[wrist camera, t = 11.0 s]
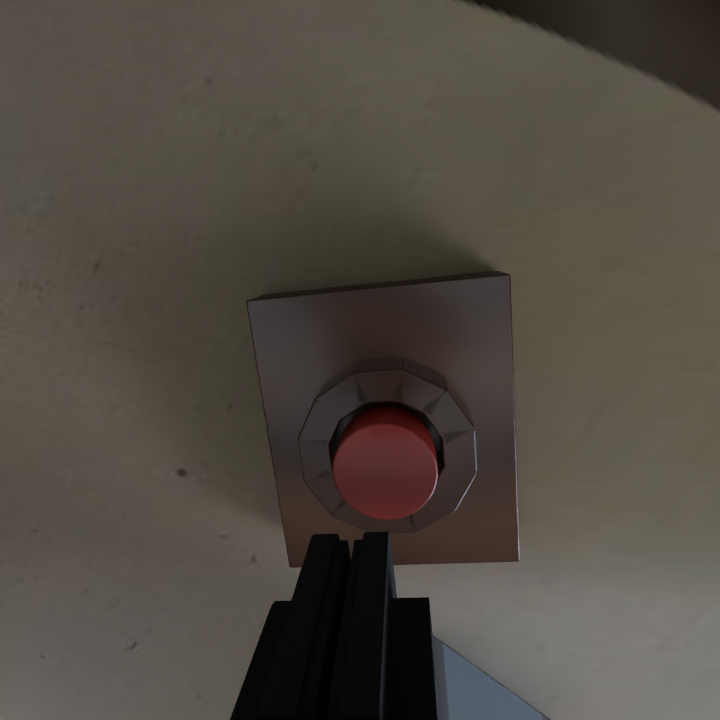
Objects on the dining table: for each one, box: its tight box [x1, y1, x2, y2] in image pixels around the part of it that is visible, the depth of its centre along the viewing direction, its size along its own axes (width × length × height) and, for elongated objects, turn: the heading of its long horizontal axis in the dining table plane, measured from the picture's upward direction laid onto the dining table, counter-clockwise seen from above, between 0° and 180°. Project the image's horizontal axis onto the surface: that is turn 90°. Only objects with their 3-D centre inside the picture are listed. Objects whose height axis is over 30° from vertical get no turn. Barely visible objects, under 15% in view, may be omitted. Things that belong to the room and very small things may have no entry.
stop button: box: [332, 407, 438, 520], centre depth 17 cm, size 4×4×2 cm
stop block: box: [246, 271, 520, 568], centre depth 19 cm, size 12×10×4 cm
